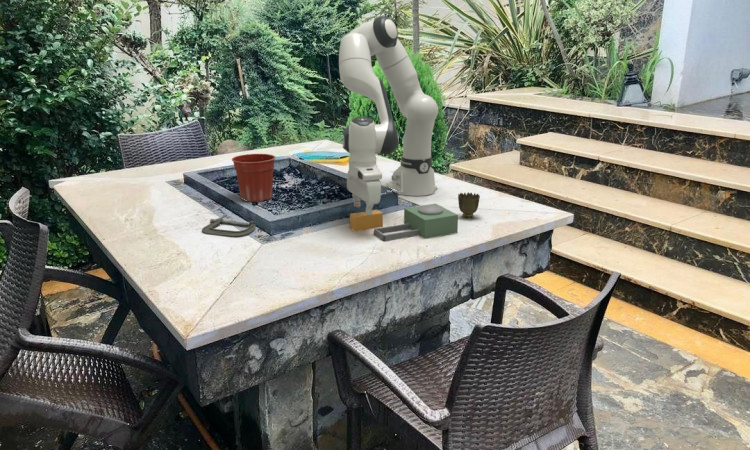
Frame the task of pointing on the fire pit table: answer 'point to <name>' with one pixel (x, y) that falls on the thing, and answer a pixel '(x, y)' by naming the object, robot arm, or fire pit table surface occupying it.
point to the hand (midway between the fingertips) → (362, 210)
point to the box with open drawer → (422, 223)
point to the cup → (468, 204)
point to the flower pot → (255, 176)
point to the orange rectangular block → (366, 220)
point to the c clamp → (227, 233)
